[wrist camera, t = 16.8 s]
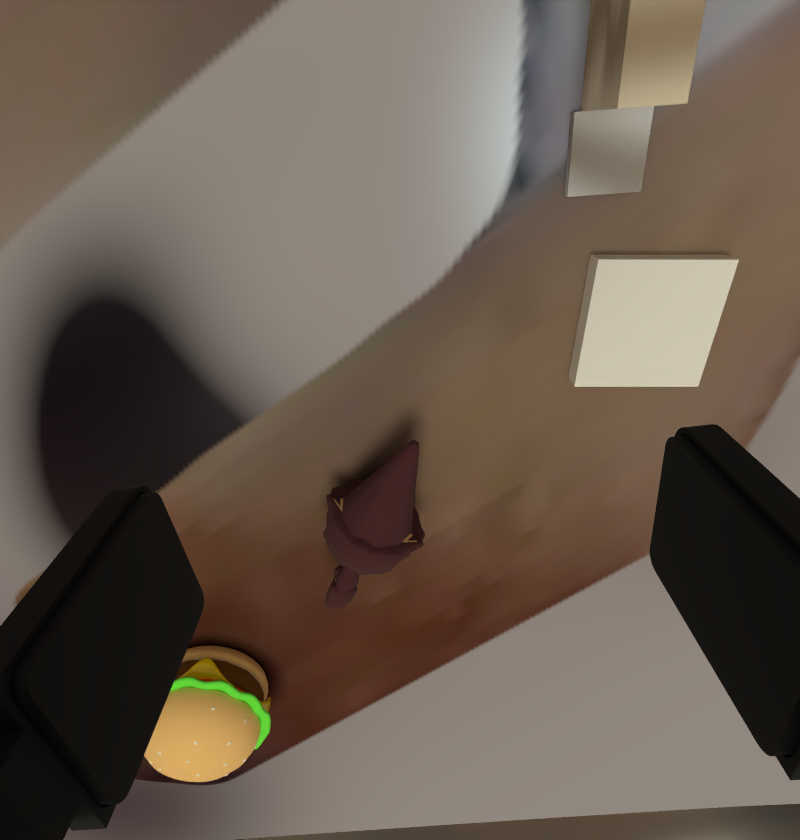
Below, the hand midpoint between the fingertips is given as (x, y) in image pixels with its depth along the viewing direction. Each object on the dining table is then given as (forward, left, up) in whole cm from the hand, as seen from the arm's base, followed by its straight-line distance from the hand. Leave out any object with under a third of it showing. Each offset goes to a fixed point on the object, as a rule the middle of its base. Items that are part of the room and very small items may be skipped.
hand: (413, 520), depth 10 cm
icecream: (+18, -3, -24) cm, 30 cm away
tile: (+1, +15, -23) cm, 28 cm away
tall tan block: (-7, +11, -24) cm, 27 cm away
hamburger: (+39, -20, -24) cm, 50 cm away
